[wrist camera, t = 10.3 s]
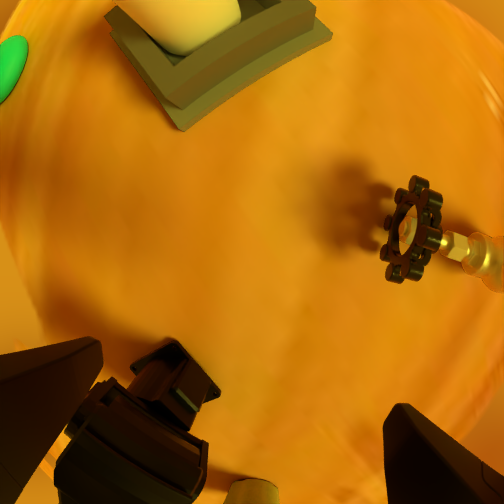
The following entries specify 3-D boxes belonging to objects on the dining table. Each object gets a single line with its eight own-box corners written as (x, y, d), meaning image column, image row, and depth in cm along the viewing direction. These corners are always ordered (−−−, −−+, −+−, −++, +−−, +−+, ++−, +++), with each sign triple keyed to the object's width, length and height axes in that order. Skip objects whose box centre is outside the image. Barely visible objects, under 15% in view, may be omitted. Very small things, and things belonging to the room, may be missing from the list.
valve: (502, 223, 16) (394, 176, 17) (552, 237, 10) (440, 172, 11) (481, 295, 18) (371, 266, 19) (525, 326, 11) (405, 300, 12)
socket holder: (184, 131, 18) (160, 119, 14) (114, 37, 17) (90, 20, 13) (331, 39, 15) (338, 11, 11) (233, -39, 14) (225, -66, 10)
